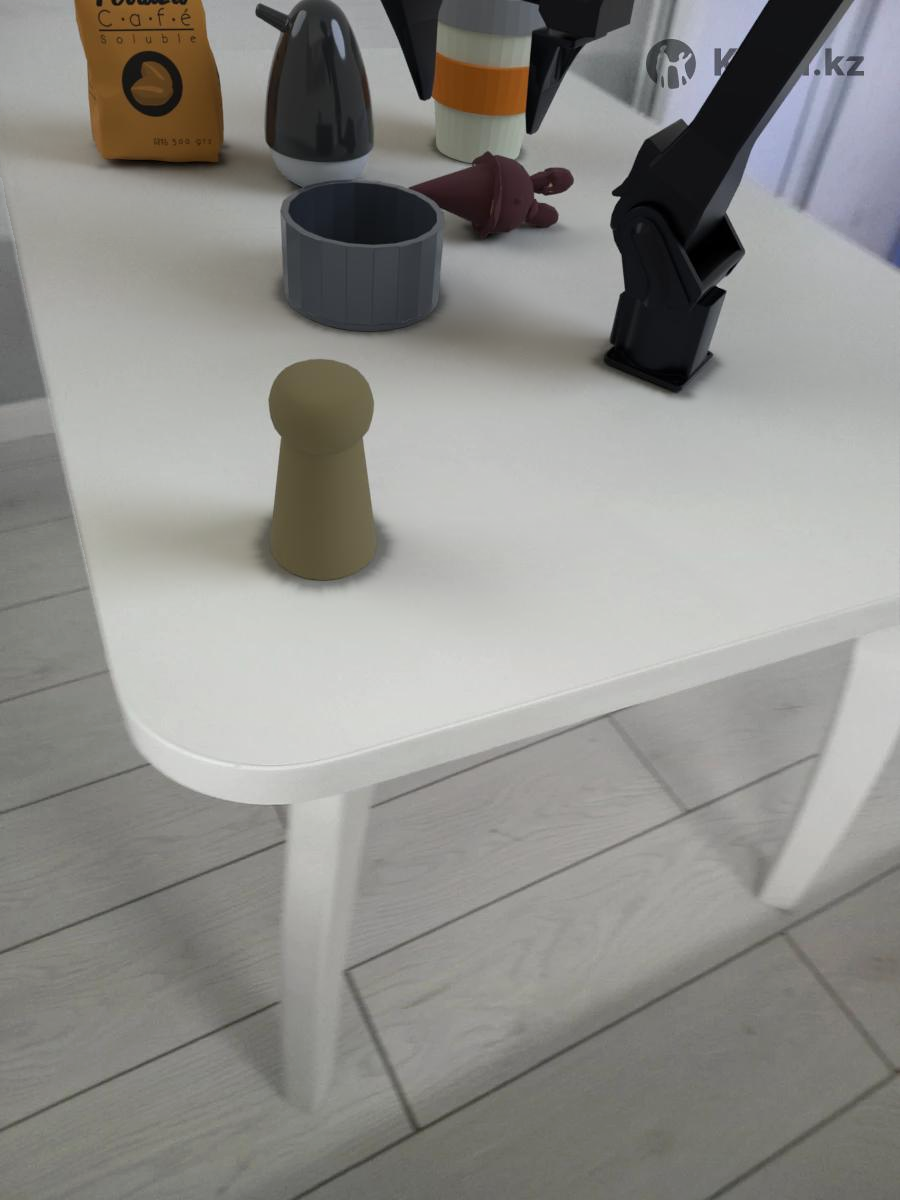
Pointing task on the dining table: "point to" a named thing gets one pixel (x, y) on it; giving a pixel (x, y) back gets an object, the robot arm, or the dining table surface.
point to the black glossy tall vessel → (317, 95)
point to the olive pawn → (322, 470)
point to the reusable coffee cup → (482, 76)
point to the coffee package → (151, 80)
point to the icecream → (497, 194)
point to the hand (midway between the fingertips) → (477, 115)
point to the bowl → (361, 254)
